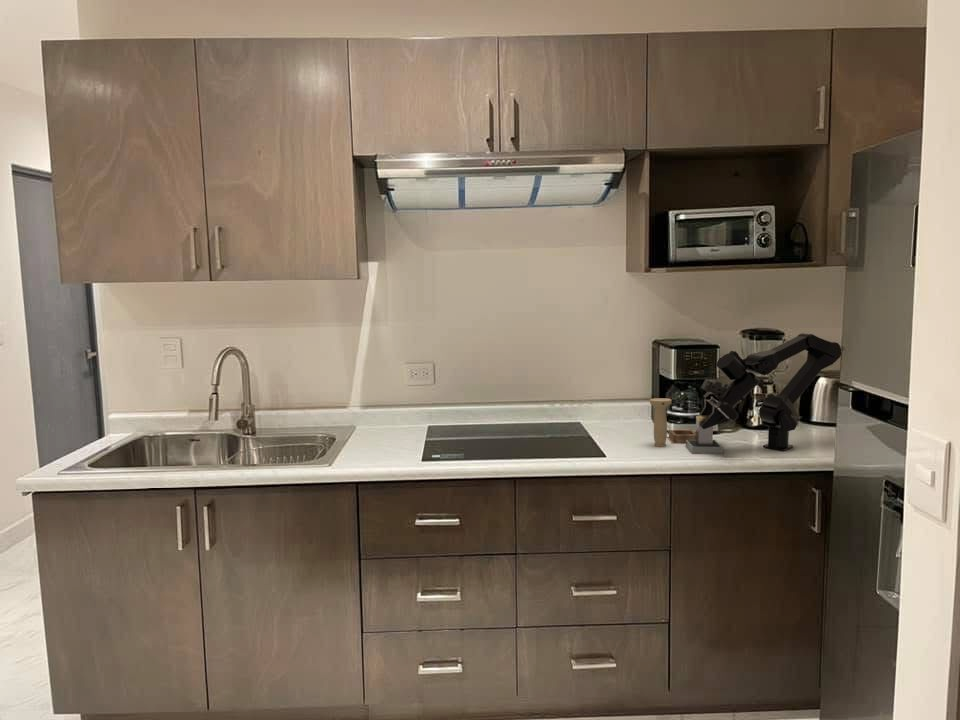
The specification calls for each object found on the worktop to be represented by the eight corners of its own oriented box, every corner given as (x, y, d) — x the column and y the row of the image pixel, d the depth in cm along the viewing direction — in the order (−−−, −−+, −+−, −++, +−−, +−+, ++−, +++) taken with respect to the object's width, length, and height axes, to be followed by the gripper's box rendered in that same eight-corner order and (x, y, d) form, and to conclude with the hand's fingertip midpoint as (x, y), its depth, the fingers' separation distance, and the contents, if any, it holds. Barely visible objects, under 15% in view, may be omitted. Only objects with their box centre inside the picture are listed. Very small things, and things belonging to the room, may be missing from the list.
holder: (694, 438, 218) (694, 429, 218) (701, 445, 209) (701, 435, 209) (666, 438, 219) (666, 429, 219) (671, 445, 210) (671, 435, 210)
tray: (714, 447, 206) (715, 439, 206) (722, 455, 197) (722, 447, 197) (685, 447, 207) (685, 439, 206) (692, 455, 198) (692, 447, 198)
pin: (709, 447, 204) (709, 415, 202) (712, 451, 200) (713, 418, 198) (695, 447, 204) (696, 415, 203) (698, 451, 200) (699, 418, 199)
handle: (647, 445, 210) (648, 398, 208) (667, 445, 210) (668, 398, 209) (652, 449, 205) (652, 401, 203) (672, 448, 206) (673, 400, 204)
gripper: (710, 365, 208) (674, 401, 210) (727, 374, 189) (687, 413, 192) (736, 390, 208) (699, 425, 210) (755, 401, 190) (714, 440, 192)
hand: (699, 425), depth 201 cm, fingers open, 7 cm apart
